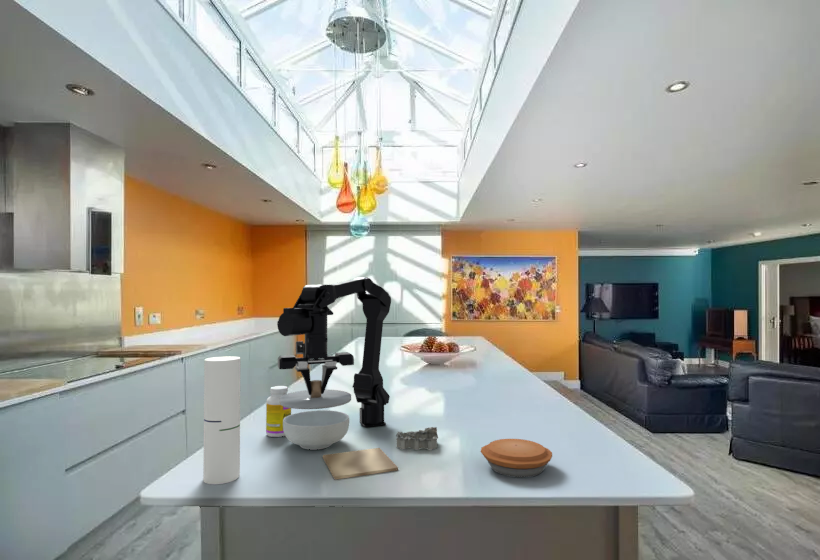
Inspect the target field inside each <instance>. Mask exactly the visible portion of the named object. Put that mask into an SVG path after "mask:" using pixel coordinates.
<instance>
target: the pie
mask: <svg viewBox="0 0 820 560" xmlns="http://www.w3.org/2000/svg"><path fill="white" fill-rule="evenodd" d="M479 452H480V453H481V455H483V457H484V458H485V460H486V462H487V463H488V464H489V467H491V469H492V470H493V471H495V472H496V473H498V474H501V475H503V476H506V477H512V478H532V477H536V476H538V475H541V474H542V473H543V472H544V470H545V468H546V466H547V465H548V464H549V462H550V461H551V460H552V458H553V452H552V451H551V450H550V449H549V448H548V447H545V446H544V445H542V444H540V443H539V442H535V441H533V440H532V441H531V440H527V439H520V438H501V439H500V438H499V439H495V440H493V441H491V442H490V443H489V442H488V443H487V444H485V445H484V446H482V447H481V449H480V451H479Z"/></svg>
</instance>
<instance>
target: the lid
mask: <svg viewBox="0 0 820 560" xmlns="http://www.w3.org/2000/svg"><path fill="white" fill-rule="evenodd" d="M310 381H311V395H309V393H308V390H307V389H306V390H299V391H294V392H289V393H287V394H286V395H283V396H281V397H280V405H282V406H284V407H288V408H291V409H295V410H296V409H297V410H321V409H322V410H323V409H330V408H335V407H340V406H343V405H347V404H348V403H350V402H351V401H352V394H351V393H349V392H348V391H345V390H339V389H327V388H325V391H324V393H323V394H321V382H322V379H321V380H320V379H312V380H310Z"/></svg>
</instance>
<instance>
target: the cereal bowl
mask: <svg viewBox="0 0 820 560" xmlns="http://www.w3.org/2000/svg"><path fill="white" fill-rule="evenodd" d="M349 426H350V416H349V414H348V413H346V412H342V411H337V410H328V409H327V410H323V409H322V410H321V409H316V410H307V411H301V412H296V413H291V415H289V416H287V417H285V418H284V419H283V431H284V434H285V436H284V437H285V438H286V439H287V440H288V441H290V442H291V443H292V444H294V445H297V446H300V448H301V449H304V450H309V449H310V451H311V450H312V451H313V450H314V451H317V449H318V450H322V449H327V448H329V447H331V446H332V445H333V444H336V443H338V442H339V441H341V440H342V439H343V438H344V437H345V436H346V435H347V433H348V431H349Z"/></svg>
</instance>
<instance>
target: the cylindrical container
mask: <svg viewBox="0 0 820 560" xmlns="http://www.w3.org/2000/svg"><path fill="white" fill-rule="evenodd" d="M203 363H204V364H203V365H204V366H203V367H204V369H203V372H204V373H203V374H204V375H203V377H204V378H203V382H204V383H203V462H202V463H203V464H202V465H203V469H202V470H203V475H202V477H203V478H202V481H203V483H205V484H207V485H223V484H228V483H231V482H234V481H235V480H238V479H239V478H240V476H241V474H240V473H241V357H240V356H232V355H231V356H229V355H227V356H212V357H207V358H205V359H204V361H203Z"/></svg>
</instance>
